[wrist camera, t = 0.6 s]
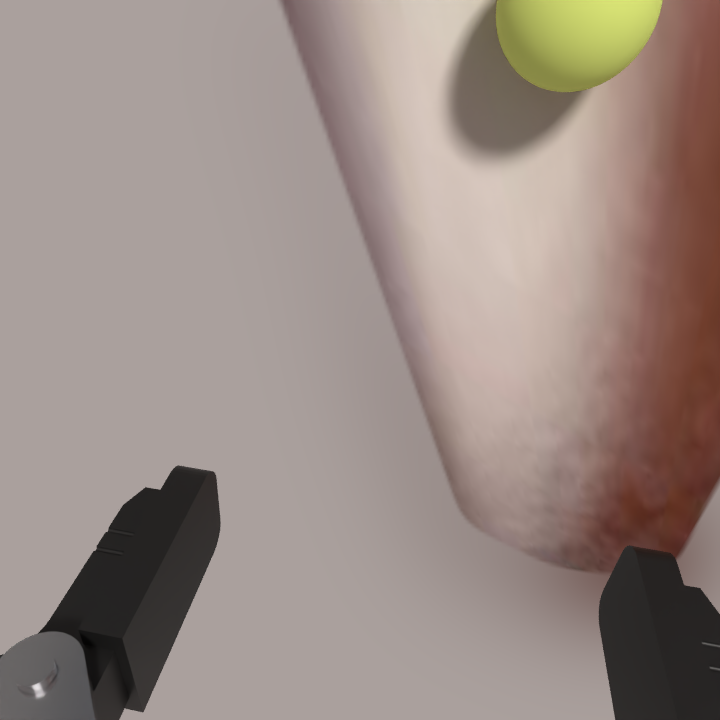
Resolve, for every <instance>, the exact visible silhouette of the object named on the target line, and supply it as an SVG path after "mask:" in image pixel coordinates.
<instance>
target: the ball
mask: <svg viewBox="0 0 720 720" xmlns="http://www.w3.org/2000/svg"><path fill="white" fill-rule="evenodd" d="M662 1H663V0H497V4H496V28H497V35H498V39H499V42H500V45H501V48H502V50H503V53H504V55H505V56H506V58H507V60H508V61H509V63H510V65H511V66H512V67H513V68H514V70H515V71H516V72H517V73H518V74H519V75H520V76H521V77H523V78H524V79H525V80H527V81H528V82H530V83H531V84H533V85H535V86H538V87H540V88H543V89H546V90H550V91H556V92H575V91H582V90H586V89H590V88H592V87H595V86H598V85H600V84H602V83H604V82H606V81H608V80H610V79H611V78H613V77H614V76H616V75H617V74H619V73H620V72H621V71H622V70H623V69H625V68H626V67H627V66H628V65H629V64H630V63H631V62H632V61H633V60H634V59H635V58H636V57H637V55H638V54H639V53H640V52H641V50H642V49H643V48H644V46H645V44H646V43H647V41H648V40H649V38H650V36H651V34H652V32H653V30H654V28H655V26H656V23H657V20H658V17H659V14H660V10H661V6H662Z"/></svg>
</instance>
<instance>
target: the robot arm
mask: <svg viewBox="0 0 720 720" xmlns="http://www.w3.org/2000/svg"><path fill="white" fill-rule="evenodd" d="M219 533H220V511H219V501H218V491H217V480H216V475H215V473H214V472H213V471H207V470H201V469H195V468H189V467H184V466H176V467H175V468H174V469H173V470H172V471H171V473H170V475H169V476H168V478H167V480H166V481H165V483H164V485H163V486H162V488H161V490H158V489H151V488H144V489H143V490H142V491H140V492H139V493H138V494H137V495H135V496H134V497H133V498H132V499H130V500H129V501H128V502H127V503H125V504H124V505H123V506H122V508H121V509H120V511H119V512H118V514H117V516H116V517H115V519H114V520H113V522H112V523H111V525H110V527H109V530H108V532H106V533H105V534H104V536H103V537H102V539H101V540H100V542H99V544H98V545H97V549H96V551H93V553H92V555H91V556H90V558H89V559H88V561H87V562H86V564H85V565H84V567H83V569H82V570H81V572H80V573H79V575H78V576H77V578H76V579H75V581H74V583H73V584H72V586H71V587H70V589H69V590H68V592H67V594H66V595H65V597H64V598H63V600H62V601H61V603H60V604H59V606H58V607H57V609H56V611H55V612H54V614H53V615H52V617H51V618H50V620H49V621H48V622H47V624H46V625H45V627H44V628H43V629H42V630H41V631H40V632H39V633H38V634H35V635H32V636H30V637H28V638H25V639H24V640H22V641H20V642H18V643H17V644H16V645H14V646H13V647H11V648H10V649H9V650H8V651H7V652H6V653H5V654H3V655H0V720H119V719H120V717H121V715H122V712H123V710H124V708H126V709H130V710H135V711H140V712H144V710H145V707H146V705H147V703H148V700H149V698H150V696H151V693H152V691H153V689H154V687H155V685H156V682H157V680H158V678H159V675H160V673H161V671H162V669H163V666H164V664H165V662H166V660H167V658H168V655H169V653H170V651H171V648H172V646H173V644H174V642H175V639H176V637H177V635H178V632H179V630H180V628H181V626H182V624H183V621H184V619H185V617H186V614H187V612H188V610H189V608H190V606H191V603H192V601H193V599H194V596H195V594H196V592H197V590H198V587H199V585H200V583H201V581H202V578H203V576H204V574H205V572H206V569H207V567H208V565H209V562H210V560H211V558H212V556H213V553H214V551H215V548H216V545H217V542H218V538H219ZM599 626H600V632H601V638H602V644H603V650H604V656H605V662H606V667H607V673H608V679H609V684H610V691H611V697H612V703H613V709H614V714H615V720H720V614H719V613H718V611H717V610H716V609H715V607H714V606H713V605H712V604H711V602H710V601H709V599H708V598H707V597H706V596H705V594H704V593H703V591H702V590H701V589H700V588H696V587H690V586H685V585H684V584H683V580H682V577H681V574H680V571H679V567H678V564H677V562H676V559H675V557H674V556H673V555H672V554H671V553H668V552H663V551H657V550H651V549H646V548H640V547H634V546H627V547H625V549H624V550H623V552H622V554H621V556H620V558H619V560H618V562H617V564H616V566H615V568H614V570H613V572H612V574H611V576H610V578H609V580H608V582H607V584H606V586H605V588H604V590H603V593H602V595H601V600H600V605H599Z"/></svg>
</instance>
